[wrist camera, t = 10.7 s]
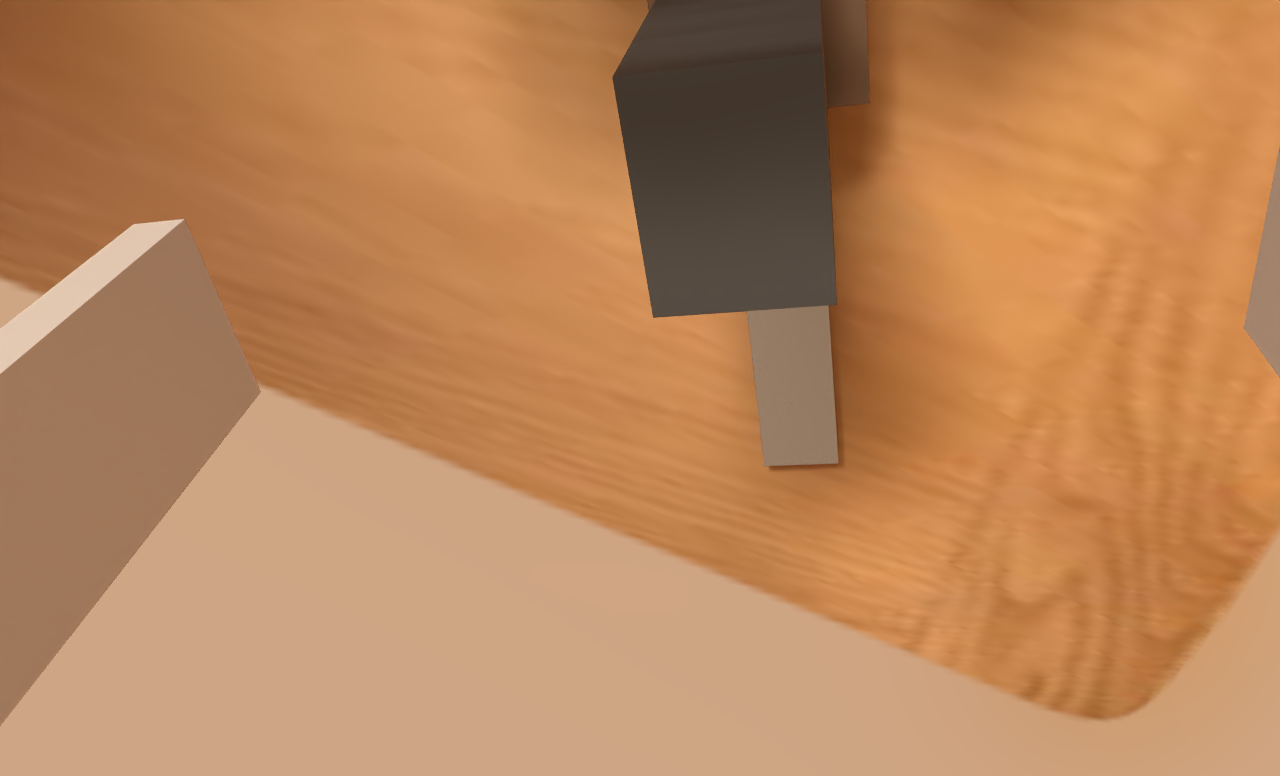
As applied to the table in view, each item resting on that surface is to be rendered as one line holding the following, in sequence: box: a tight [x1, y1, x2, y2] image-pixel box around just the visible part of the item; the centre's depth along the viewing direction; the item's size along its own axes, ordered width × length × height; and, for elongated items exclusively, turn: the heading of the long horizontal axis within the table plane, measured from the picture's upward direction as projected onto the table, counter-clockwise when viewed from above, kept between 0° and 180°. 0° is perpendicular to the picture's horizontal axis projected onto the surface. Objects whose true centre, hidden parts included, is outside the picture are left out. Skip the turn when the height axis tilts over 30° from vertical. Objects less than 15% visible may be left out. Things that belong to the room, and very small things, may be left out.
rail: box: [747, 306, 838, 466], centre depth 28 cm, size 2×17×1 cm, turn 9°
